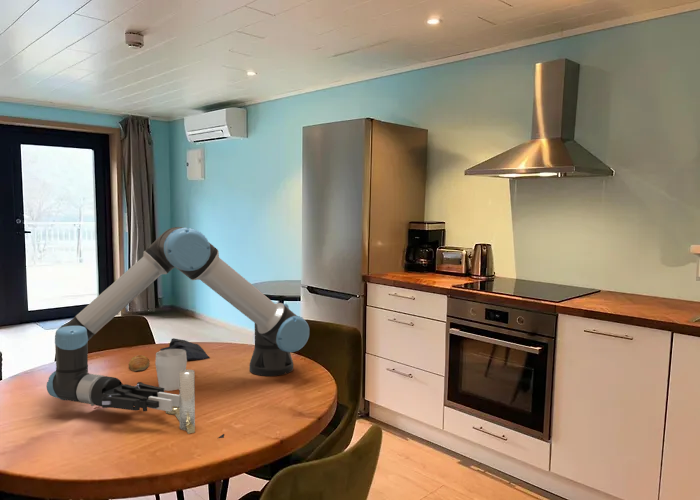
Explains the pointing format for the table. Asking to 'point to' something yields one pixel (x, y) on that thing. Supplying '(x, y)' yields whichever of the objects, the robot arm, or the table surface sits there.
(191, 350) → the dark grey crumpled cloth
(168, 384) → the cup
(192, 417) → the tuning peg
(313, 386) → the table surface
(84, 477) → the table surface
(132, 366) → the pastry
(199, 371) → the table surface
